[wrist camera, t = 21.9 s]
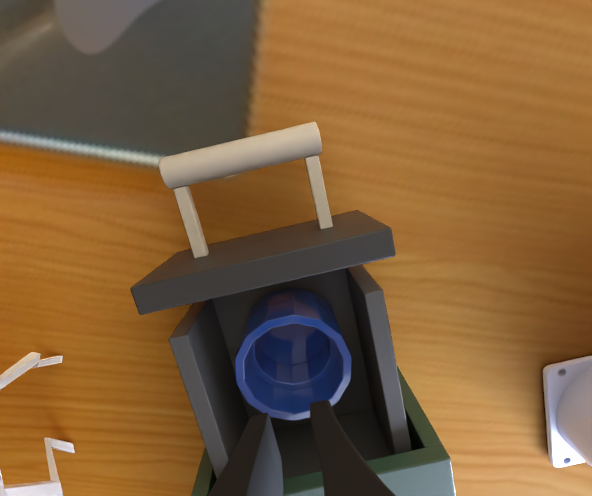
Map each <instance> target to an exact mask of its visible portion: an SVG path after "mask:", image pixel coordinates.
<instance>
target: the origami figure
mask: <svg viewBox="0 0 592 496" xmlns="http://www.w3.org/2000/svg"><path fill="white" fill-rule="evenodd" d="M40 355H41V354H40V353H35V352H30V353H29V354H28V355H26V356H25V357H24V358H22V359H21V360H20V361H18V362H17V363H16V364H14V365H13V366H12V367H10V368H9V369H8V370H6V371H5V372H4V373H3V374H1V375H0V390H1V389H2V388H4V387H5V386H6V385H8V384H9V383H11V382H12V381H13V380H15V379H16V378H18V377H19V376H20V375H22V374H23V373H25V372H26V371H27V370H29V369H30V368H37V367H42V366H47V365H52V364H57V363H62V358H63V356H53V357H49V358H45V359H41V360H40ZM44 440H45V447H46V453H47V460H48V466H49V472H50V479H51V481H41V482H31V483H21V484H10V485H4V484H3V480H2V475H1V471H0V496H63V492H62V488H61V484H60V481H59V477H58V473H57V469H56V465H55V461H54V457H53V453H52V449H51V448H54V449H57V450H61V451H65V452H68V453H75V451H74V446H73V443H69V442H65V441H60V440H56V439H52V438H44Z"/></svg>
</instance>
